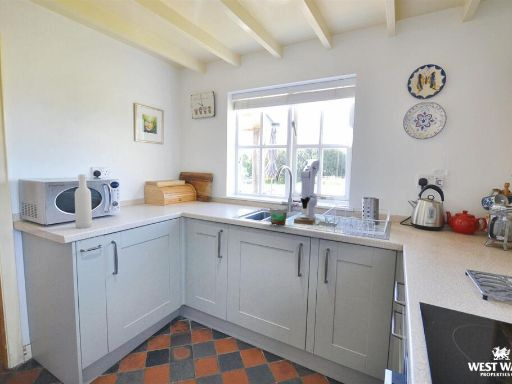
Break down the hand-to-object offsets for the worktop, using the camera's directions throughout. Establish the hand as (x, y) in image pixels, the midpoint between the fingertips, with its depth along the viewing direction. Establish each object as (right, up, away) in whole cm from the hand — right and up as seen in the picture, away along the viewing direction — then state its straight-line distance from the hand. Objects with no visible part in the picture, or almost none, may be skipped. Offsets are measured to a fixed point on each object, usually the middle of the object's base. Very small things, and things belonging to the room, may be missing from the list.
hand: (305, 208), depth 175 cm
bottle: (-132, -9, -26) cm, 135 cm away
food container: (-20, -10, -9) cm, 24 cm away
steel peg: (0, -4, 0) cm, 4 cm away
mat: (+15, -10, -3) cm, 18 cm away
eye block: (0, -9, +1) cm, 9 cm away
